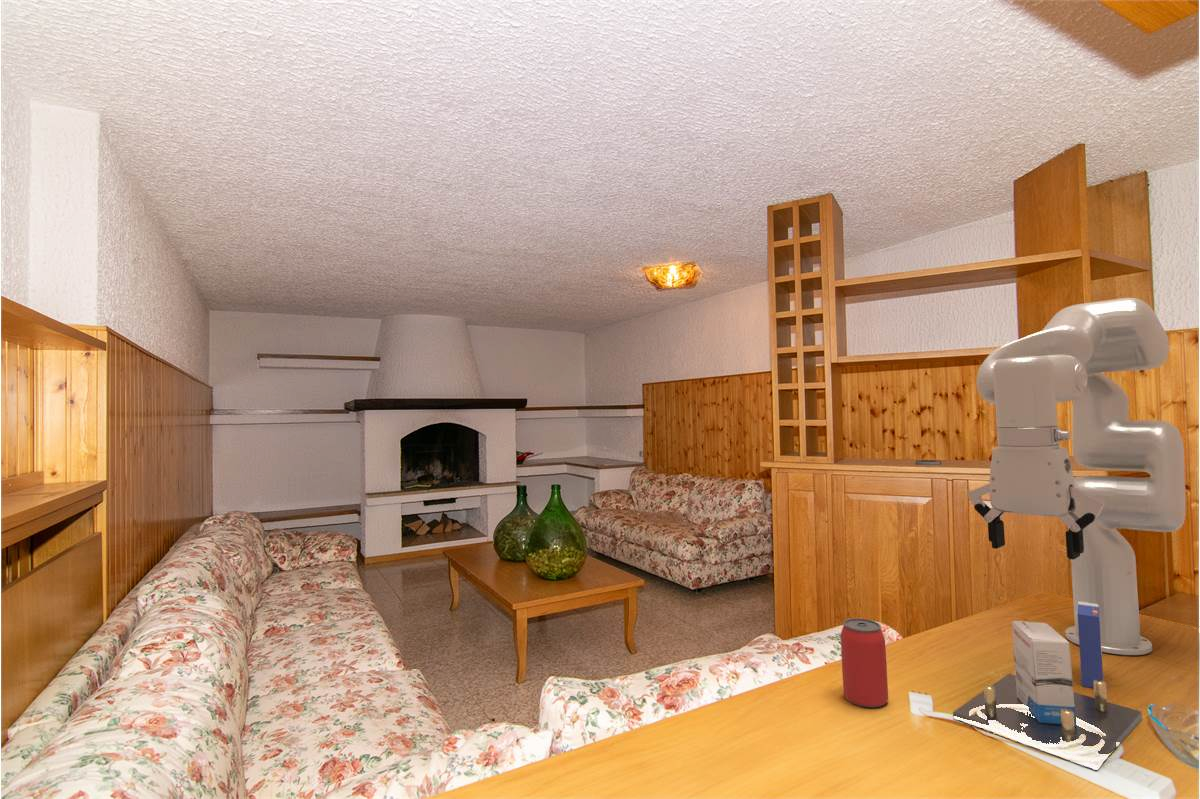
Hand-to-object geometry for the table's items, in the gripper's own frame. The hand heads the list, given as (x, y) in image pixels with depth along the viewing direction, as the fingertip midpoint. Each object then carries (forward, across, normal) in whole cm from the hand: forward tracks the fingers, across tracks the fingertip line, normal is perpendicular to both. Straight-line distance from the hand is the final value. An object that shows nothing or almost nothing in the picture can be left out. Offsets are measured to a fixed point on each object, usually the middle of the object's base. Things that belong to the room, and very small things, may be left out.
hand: (1034, 552), depth 91 cm
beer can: (+24, +19, +16) cm, 35 cm away
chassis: (+24, -1, +2) cm, 24 cm away
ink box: (+23, 0, +2) cm, 23 cm away
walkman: (+25, -1, -18) cm, 30 cm away
